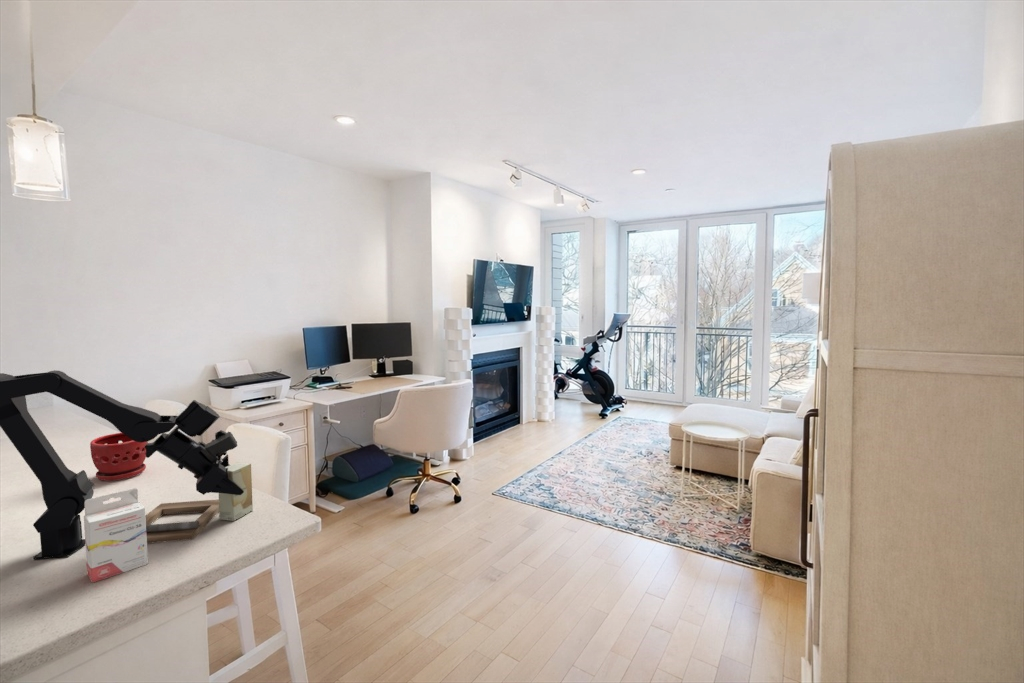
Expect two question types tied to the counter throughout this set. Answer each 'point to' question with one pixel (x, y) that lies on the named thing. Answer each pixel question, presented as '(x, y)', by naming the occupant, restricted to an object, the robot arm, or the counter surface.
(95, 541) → the ink cartridge box
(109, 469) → the plant pot
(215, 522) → the counter surface
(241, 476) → the skincare box
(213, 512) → the shelf frame
